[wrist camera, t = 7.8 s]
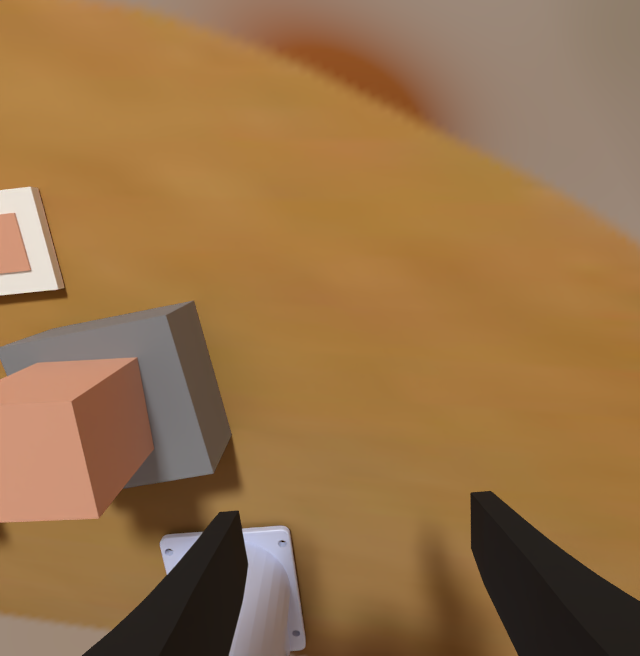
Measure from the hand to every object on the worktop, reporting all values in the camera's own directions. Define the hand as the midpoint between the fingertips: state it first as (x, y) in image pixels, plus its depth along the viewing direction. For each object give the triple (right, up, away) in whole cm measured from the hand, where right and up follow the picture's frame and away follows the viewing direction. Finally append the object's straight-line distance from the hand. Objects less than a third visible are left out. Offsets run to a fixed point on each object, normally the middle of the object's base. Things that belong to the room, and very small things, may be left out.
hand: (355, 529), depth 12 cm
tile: (-17, +11, +8) cm, 22 cm away
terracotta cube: (-11, +3, +6) cm, 13 cm away
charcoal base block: (-11, +3, +10) cm, 15 cm away
